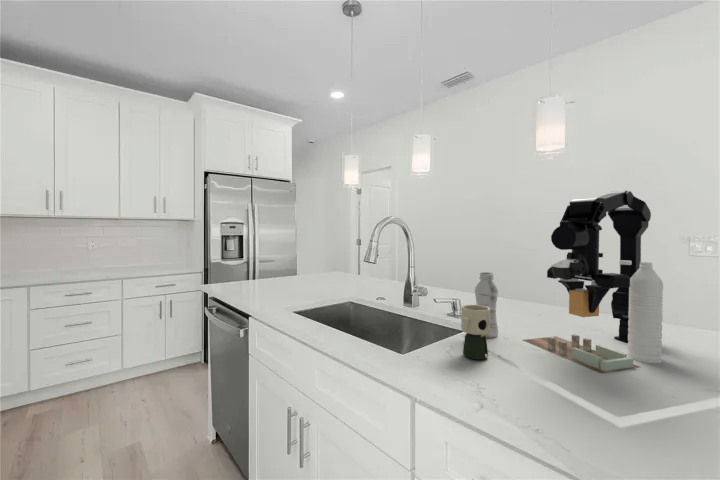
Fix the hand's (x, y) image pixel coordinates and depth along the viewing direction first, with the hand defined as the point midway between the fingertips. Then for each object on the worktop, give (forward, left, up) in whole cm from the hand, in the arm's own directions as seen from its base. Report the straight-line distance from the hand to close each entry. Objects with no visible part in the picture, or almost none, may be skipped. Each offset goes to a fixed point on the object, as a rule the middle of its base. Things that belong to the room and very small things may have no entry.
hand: (584, 310), depth 86 cm
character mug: (+25, -10, -13) cm, 30 cm away
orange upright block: (0, 0, -1) cm, 1 cm away
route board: (0, -3, -13) cm, 13 cm away
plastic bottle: (+13, -22, -13) cm, 28 cm away
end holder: (0, +5, -11) cm, 12 cm away
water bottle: (-13, +4, -13) cm, 18 cm away
